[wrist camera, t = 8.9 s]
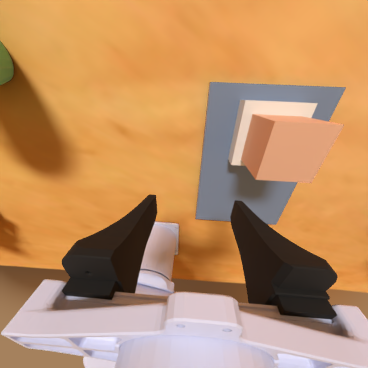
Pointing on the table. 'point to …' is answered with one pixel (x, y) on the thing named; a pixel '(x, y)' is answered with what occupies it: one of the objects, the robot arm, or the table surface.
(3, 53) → the mug
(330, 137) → the terracotta block
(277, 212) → the board
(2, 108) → the table surface
